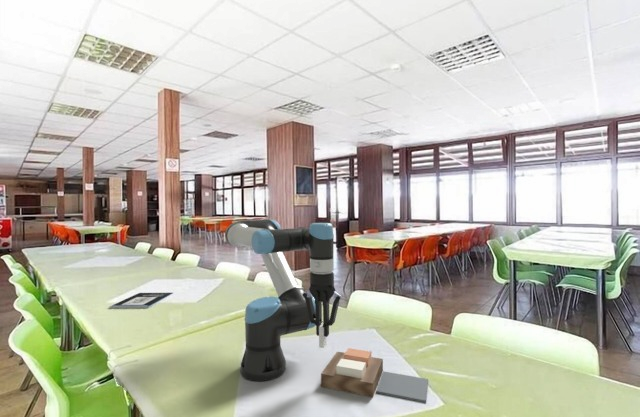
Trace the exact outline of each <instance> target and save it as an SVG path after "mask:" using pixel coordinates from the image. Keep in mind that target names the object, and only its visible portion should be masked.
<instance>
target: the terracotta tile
mask: <svg viewBox="0 0 640 417" xmlns="http://www.w3.org/2000/svg"><path fill="white" fill-rule="evenodd" d="M344 353H345V354H344V359H347V360H353V361H359V362H365V363H366V366H368V365H369V363H370V361H371V357H372V351H371V350H370V351H368V350H361V349H355V348H352V347H351V348H347V349H346V351H345V352H344Z"/></svg>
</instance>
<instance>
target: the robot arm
mask: <svg viewBox="0 0 640 417" xmlns="http://www.w3.org/2000/svg"><path fill="white" fill-rule="evenodd" d="M334 237H335V236H334V225H333V224H332V223H330V222H312V223H310V225H309V227H306V226H301V227H294V228H293V227H292V228H281V225H280V223H279V222H278V221H277V220H276V219H271V218H270V219H269V218H264V219H246V220H245V219H244V220H243V219H242V220H238V221H234V222H232V223H231V224H230V225H229V226H227V228H226V230H225V233H224V238H225V241H226V242H227V244H228V245H229V246H231V247H234V248H249V249H252V251H253V252H254V253H255V254H256V255H260V256H261V258H262V260H263V263H264V266H265V268H266V270H267V273H268V274H269V278H270V280H271V282H272V285H273V287H274V289H275V292H276V294H277V296H278V297H277V296H263V297H260V298H256V299H254V300H252V301H250V302H249V303H248V304H247V306H246V307H245V313H244V315H245V316H244V324H245V328H244V329H245V332H244V335H245V350H244V353H243V356H242V360H241V362H240V375H241V377H243V378H244V379H246V380H249V381H254V382H265V381H270V380H274V379H276V378H279V377H280V376H282V375H283V374H284V373H285V372H286V370H287V369H286V368H287V361H286V358H285V355H284V352H283V348H282V345H281V337H282V336H285V335H286V336H287V335H289V334H293V333H297V332H298V333H299V332H302V331H307V330H310V329H312V328H316V329H315V330H316V331H315V333H316V336H318V347H319V348H322V349H324V348H325V347H326V345H327V337H329V336H330V335H329V334H330V326H331V327H332V326H333V325H334V323H335V322H336V318H337V313H338V309H339V305H340V301H341V299H342V298H343V294H342V293H338V292H337V291H336V288H335V273H334V270H335V269H334V268H335V267H334V265H335V264H334V261H335V260H334V259H335V258H334V243H335V242H334V239H335V238H334ZM295 251H296V252H297V251H308V252H309V271H310V274H309V283H310V286H309V288H308V290H306V288H304V287H303V286H299V283H298V281H297V279H296V277H295V275H294V273H293V271H292V269H291V267H290V265H289V263H288V260H287V259H286V256H285V254H284V252H295ZM332 297H333V302H332V307H331V312H330V302H331V299H332Z"/></svg>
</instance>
